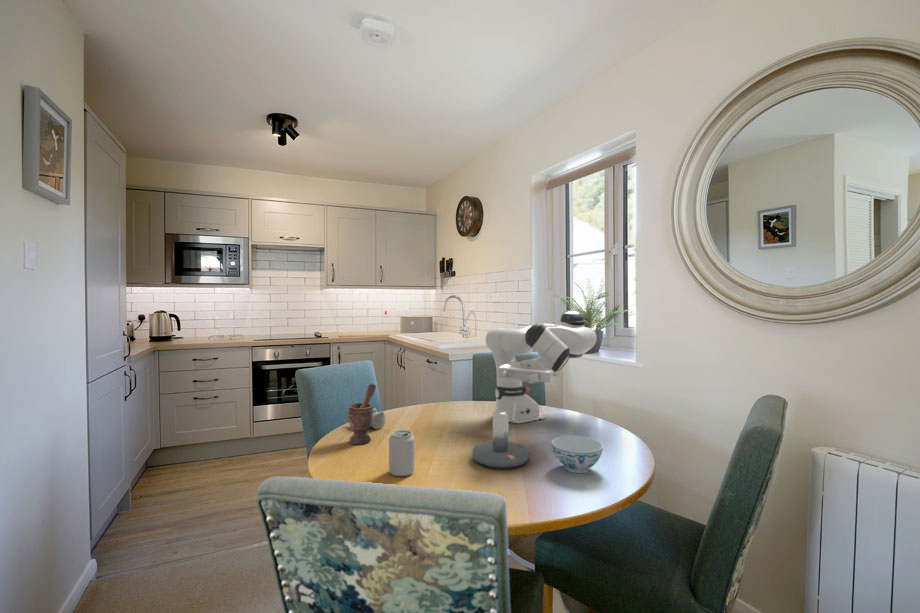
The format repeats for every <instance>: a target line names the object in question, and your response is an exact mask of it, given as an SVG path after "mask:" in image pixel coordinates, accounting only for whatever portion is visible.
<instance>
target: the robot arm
mask: <svg viewBox="0 0 920 613" xmlns="http://www.w3.org/2000/svg"><path fill="white" fill-rule="evenodd" d="M559 321H560V324H554V323H535V324H531V325H525V326H524V327H523V328H507V327H506V328H505V327H498V328H493V329H491V330H489V331H488V332H487V333H486V336H485V344H486V347H487V348H488V349H489V350H490V352H491V354H492V356H493V359H494V360H493V361H494V363H495V367H496V368H495V369H496V384H495V407H494V411H506V412H508V423H513V424H524V423H528V422H529V423H530V422H534V420H535V421H539V419H541V420H544V418H545V417H546V416H545V415H544V414H543V413H542V412H541V411H540V408H539V404H538V403H537V401H535V399H533V398H532V397H531V396H529V395H528V394H527V393H529V392H530V391H531V388H530V387H529V386H524V385H523V383H524V382H525V383H526V384H531V385H532V384H537V383H540V382H541V383H551V382H552V381H554V378H555V377H558V375H559V374H558V371H560V370H561V369H563V367H565V366H566V364H567V363H568V362H569V359H572V360H573V359H578V358H581V357H583V355H584V354H585V353H587V352H588V351H590V350H592V348H594V346H595V345H596V343H597V340H598V338H597V337H598V336H597V333H596V332H595V330H593V328H591V327H587V326H585V324H586V320H585V318H584V316H583V314H582V313H581V312H579V311H575V310H570V311H569V310H568V311H565V312H563V313H562V314H561V316H560V320H559ZM533 351H535V353H537V354H538V355H539V356H536V357H534V358H531V359H530V358H529V359H525V360H517V359H516V356H525V355H526V356H527V355H530V354H531V353H532V352H533ZM526 392H527V393H526Z"/></svg>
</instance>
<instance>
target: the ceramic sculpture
mask: <svg viewBox="0 0 920 613" xmlns="http://www.w3.org/2000/svg"><path fill="white" fill-rule="evenodd" d="M372 408H373V412H372V414H373V415H372V422H371V426H370V427H369V428H373V429H374V430H381V429H382V428H383V427H384V426H385V424H386V415H385V412H384V411H380V412H378V410H377V408H376V407H374V406H373V407H372Z"/></svg>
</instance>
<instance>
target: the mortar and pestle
mask: <svg viewBox="0 0 920 613" xmlns="http://www.w3.org/2000/svg"><path fill="white" fill-rule="evenodd" d="M376 390H377V385H376V384H373V383H370V384H368V387H367V389H366V392H365V396H364V398H363V402H359V403H353V404H352V403H351V404H349V405H348V406H347V407H348V408H347V409H348V411H347V414H348V416H347V417H348V423H349V426H350V427H349V428H350V429H351V430H352V431H353V434H352V435H351V436H350V438H349V443H350V444H351V445H365V444H368V443H370V442H371V441H372V438H371V436H370V435H369V434H368V433H367V431H368V429H370V428H371V427H370V426H371V422H372V415H373V414H372V412H373V408H372V407H374V406H373V404H372V403H371V400H372V398H373V396H374V394H375V392H376Z"/></svg>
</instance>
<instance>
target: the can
mask: <svg viewBox="0 0 920 613" xmlns="http://www.w3.org/2000/svg"><path fill="white" fill-rule="evenodd" d="M415 450H416V449H415V436H414V435H413V431H410V430H406V429H399V430H395V431H392V432H391V433H390V436H389V439H388V472H389V473H390V474H391V475H392V476H393V475H394V477H396V476H402V477H401V478H403V476H405V477H408V476H410V475H412V473H413V472H414V471H415V458H416V457H415V456H416V455H415V453H416V452H415Z"/></svg>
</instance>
